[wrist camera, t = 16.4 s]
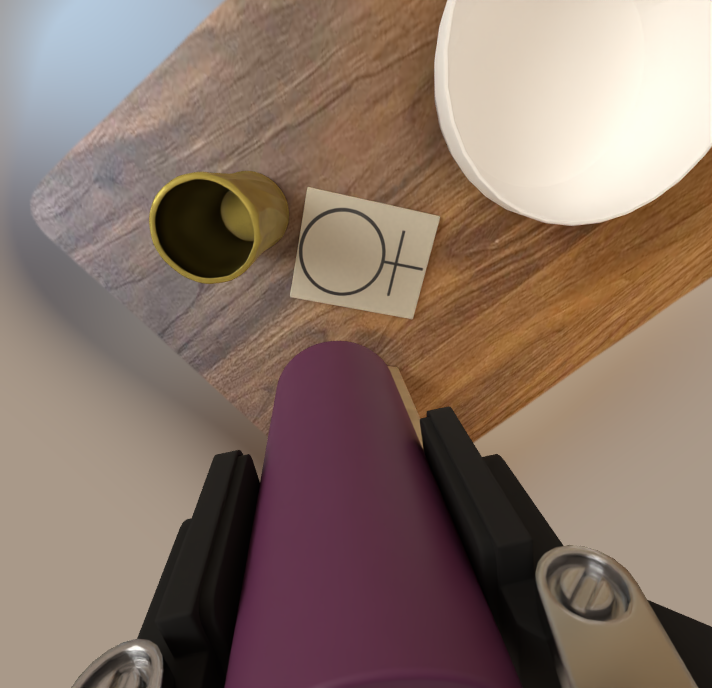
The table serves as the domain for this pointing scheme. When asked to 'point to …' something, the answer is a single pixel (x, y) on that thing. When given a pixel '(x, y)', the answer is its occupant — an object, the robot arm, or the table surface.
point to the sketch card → (362, 253)
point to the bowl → (575, 101)
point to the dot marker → (356, 547)
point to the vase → (217, 223)
